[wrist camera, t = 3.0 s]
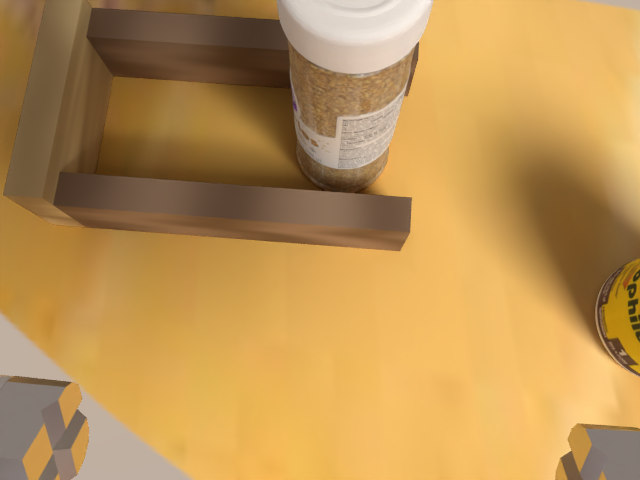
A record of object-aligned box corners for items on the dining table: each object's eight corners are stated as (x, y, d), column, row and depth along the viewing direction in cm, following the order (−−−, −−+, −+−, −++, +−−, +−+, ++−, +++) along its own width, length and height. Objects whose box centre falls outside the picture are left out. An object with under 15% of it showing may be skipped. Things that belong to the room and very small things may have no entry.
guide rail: (408, 69, 30) (423, 15, 26) (399, 251, 28) (413, 225, 24) (87, 48, 31) (47, -9, 26) (52, 224, 28) (3, 194, 24)
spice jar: (284, 127, 30) (250, -79, 17) (369, 98, 30) (403, -126, 17) (314, 210, 29) (305, 60, 16) (403, 179, 29) (467, 7, 16)
